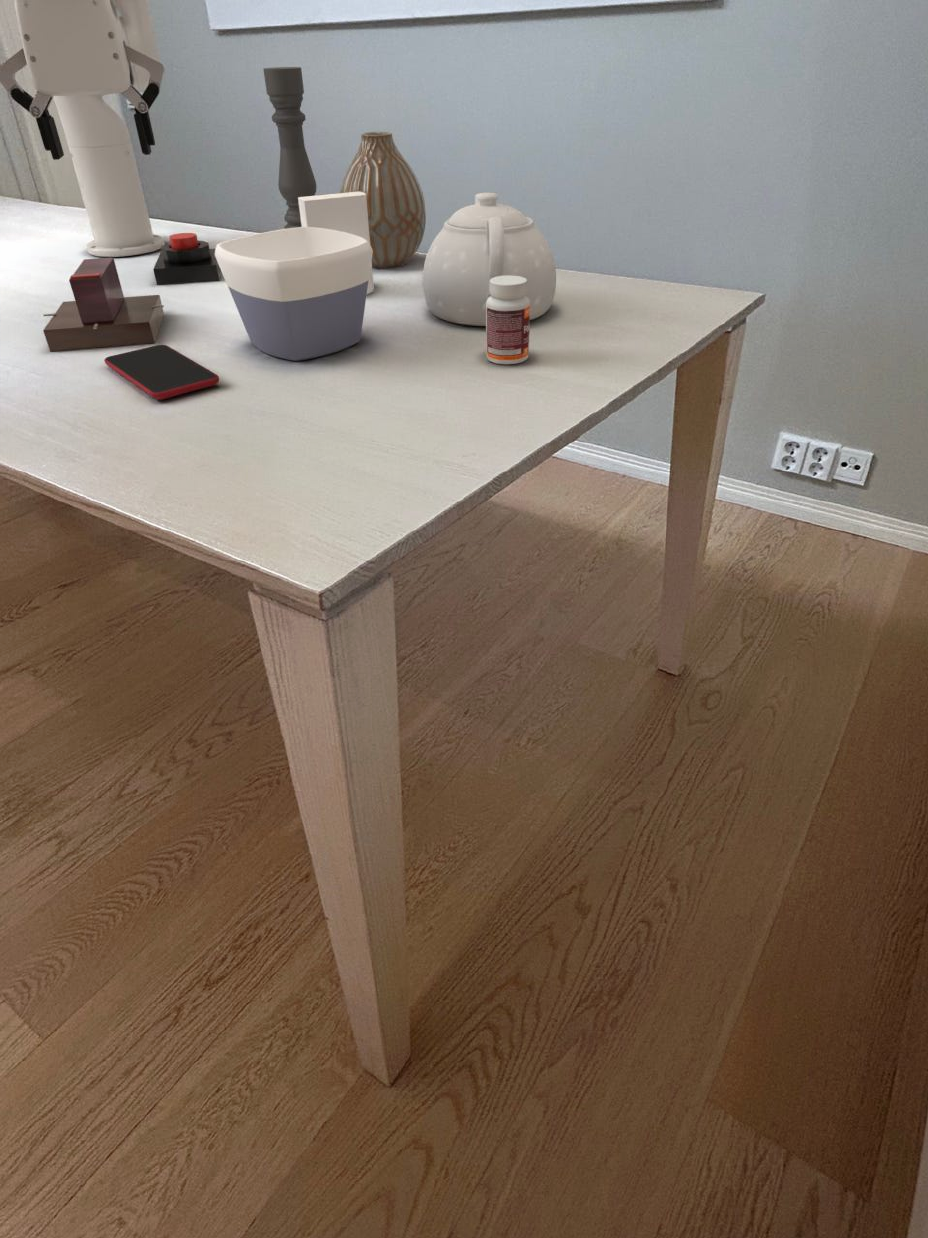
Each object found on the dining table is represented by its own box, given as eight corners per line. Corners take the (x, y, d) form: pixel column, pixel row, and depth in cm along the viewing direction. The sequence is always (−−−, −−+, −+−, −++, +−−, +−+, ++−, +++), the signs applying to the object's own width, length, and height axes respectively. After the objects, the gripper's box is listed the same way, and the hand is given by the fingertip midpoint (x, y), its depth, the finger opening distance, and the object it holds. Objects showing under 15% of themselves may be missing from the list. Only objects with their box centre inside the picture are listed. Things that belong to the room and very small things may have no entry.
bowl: (320, 315, 103) (308, 221, 97) (397, 341, 95) (390, 240, 88) (215, 344, 95) (194, 244, 88) (289, 376, 86) (272, 267, 79)
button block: (164, 266, 126) (157, 239, 123) (222, 262, 127) (217, 235, 125) (156, 284, 117) (149, 255, 115) (219, 280, 119) (213, 251, 116)
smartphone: (164, 343, 93) (221, 376, 84) (166, 350, 93) (223, 385, 84) (101, 357, 89) (154, 394, 80) (103, 365, 90) (156, 403, 80)
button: (173, 245, 121) (170, 233, 120) (199, 244, 122) (197, 231, 121) (170, 251, 118) (167, 239, 117) (198, 250, 119) (195, 237, 118)
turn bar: (96, 300, 102) (83, 257, 99) (124, 298, 103) (112, 255, 99) (82, 324, 94) (68, 277, 91) (113, 321, 95) (100, 275, 92)
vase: (359, 251, 131) (347, 127, 121) (436, 253, 129) (431, 127, 118) (332, 272, 121) (317, 138, 110) (416, 274, 119) (408, 139, 108)
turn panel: (62, 319, 104) (55, 298, 103) (173, 310, 107) (168, 290, 105) (38, 355, 93) (30, 332, 92) (163, 345, 95) (157, 322, 94)
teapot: (388, 313, 104) (379, 196, 95) (482, 283, 114) (482, 176, 106) (496, 343, 93) (497, 215, 85) (589, 307, 104) (597, 190, 96)
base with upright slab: (320, 302, 108) (308, 204, 101) (303, 286, 115) (290, 193, 108) (382, 293, 111) (375, 198, 104) (362, 278, 118) (354, 187, 110)
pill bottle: (532, 363, 88) (535, 284, 83) (490, 366, 87) (490, 286, 82) (523, 349, 92) (525, 272, 87) (482, 352, 91) (482, 275, 86)
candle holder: (320, 251, 132) (299, 68, 117) (283, 252, 132) (257, 69, 117) (326, 243, 137) (306, 66, 121) (290, 243, 137) (266, 67, 122)
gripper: (145, -38, 85) (183, 147, 95) (-29, -36, 82) (29, 155, 92) (138, -43, 79) (179, 155, 89) (-50, -41, 76) (15, 164, 86)
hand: (103, 155), depth 91 cm, fingers open, 9 cm apart
